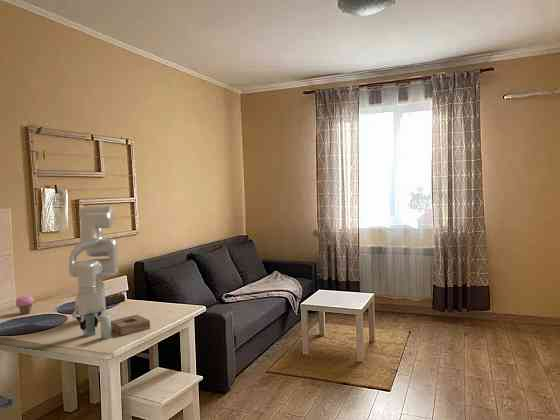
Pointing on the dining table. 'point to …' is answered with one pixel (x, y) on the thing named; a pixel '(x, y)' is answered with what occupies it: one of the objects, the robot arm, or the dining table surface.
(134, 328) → the socket block
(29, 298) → the cupcake
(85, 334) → the square peg
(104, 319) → the round peg
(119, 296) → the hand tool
